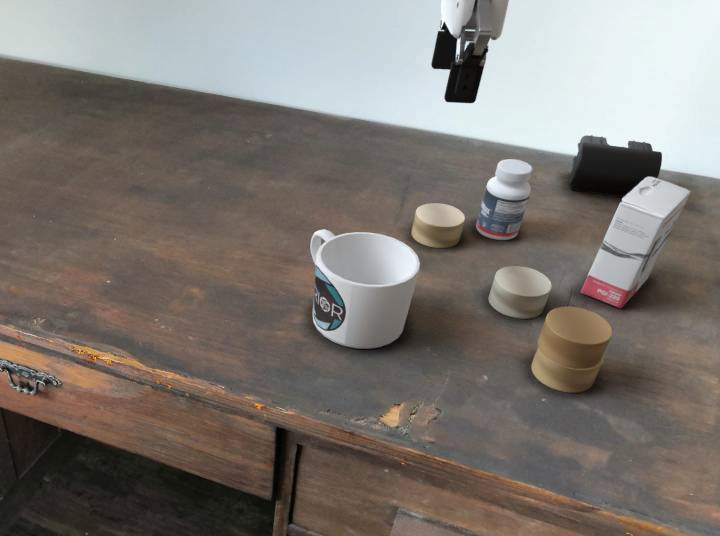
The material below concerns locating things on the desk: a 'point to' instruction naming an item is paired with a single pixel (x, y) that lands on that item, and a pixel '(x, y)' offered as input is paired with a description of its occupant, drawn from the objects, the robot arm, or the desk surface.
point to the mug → (362, 287)
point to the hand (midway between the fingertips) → (451, 84)
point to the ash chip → (519, 292)
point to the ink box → (634, 240)
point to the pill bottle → (505, 200)
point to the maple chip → (438, 225)
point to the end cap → (612, 166)
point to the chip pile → (571, 349)
